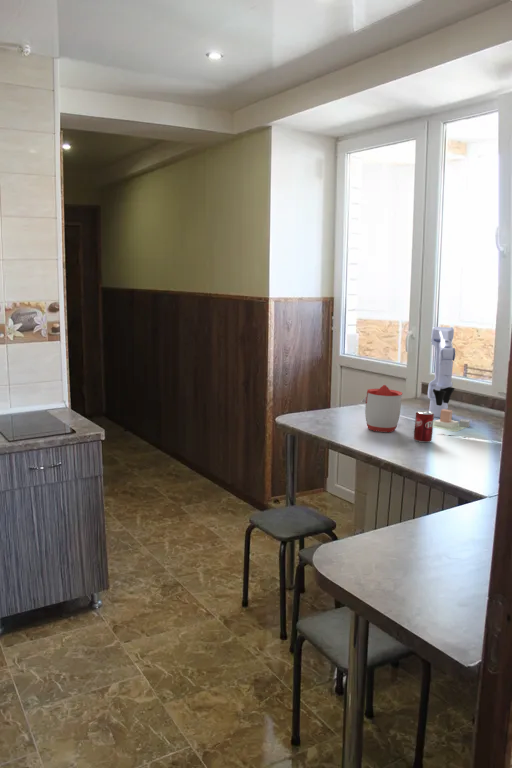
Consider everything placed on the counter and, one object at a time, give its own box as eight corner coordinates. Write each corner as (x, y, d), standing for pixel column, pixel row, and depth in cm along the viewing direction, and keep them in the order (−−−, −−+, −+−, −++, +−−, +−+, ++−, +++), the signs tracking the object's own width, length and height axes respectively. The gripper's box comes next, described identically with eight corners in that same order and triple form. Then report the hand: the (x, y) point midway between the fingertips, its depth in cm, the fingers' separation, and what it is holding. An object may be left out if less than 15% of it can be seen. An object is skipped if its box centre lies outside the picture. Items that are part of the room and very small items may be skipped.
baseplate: (436, 421, 304) (437, 419, 304) (470, 428, 294) (470, 425, 294) (421, 427, 292) (421, 425, 292) (455, 434, 282) (455, 431, 282)
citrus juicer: (360, 423, 294) (363, 380, 290) (399, 427, 291) (402, 383, 287) (358, 431, 279) (361, 386, 275) (399, 435, 276) (403, 389, 272)
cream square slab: (441, 422, 299) (442, 418, 298) (458, 425, 294) (458, 421, 293) (434, 425, 293) (434, 420, 292) (450, 428, 288) (451, 424, 287)
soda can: (432, 439, 271) (434, 411, 269) (430, 443, 264) (433, 415, 262) (414, 437, 273) (416, 409, 271) (412, 441, 266) (415, 413, 264)
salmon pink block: (442, 419, 296) (443, 408, 295) (451, 421, 294) (452, 410, 293) (439, 421, 292) (441, 410, 292) (448, 422, 290) (449, 411, 289)
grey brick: (460, 424, 297) (460, 419, 296) (469, 425, 295) (470, 420, 294) (459, 426, 293) (459, 420, 292) (468, 427, 291) (468, 421, 291)
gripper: (443, 371, 299) (440, 400, 302) (430, 375, 288) (427, 404, 291) (458, 373, 295) (455, 402, 298) (445, 377, 284) (442, 407, 286)
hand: (442, 404), depth 294 cm, fingers open, 7 cm apart
